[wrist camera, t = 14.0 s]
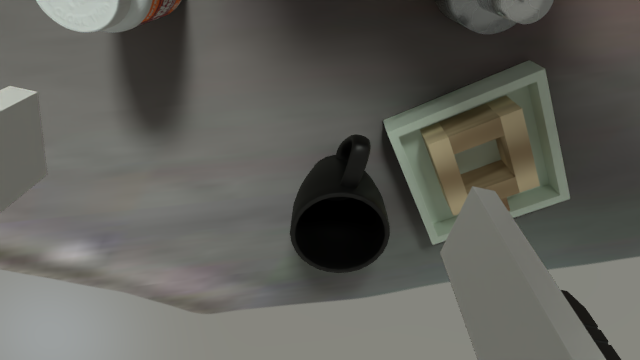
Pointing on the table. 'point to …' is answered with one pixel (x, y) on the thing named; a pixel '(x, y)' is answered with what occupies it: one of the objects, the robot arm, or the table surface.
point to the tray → (527, 92)
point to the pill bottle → (106, 13)
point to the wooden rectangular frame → (475, 129)
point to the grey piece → (493, 13)
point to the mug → (340, 212)
